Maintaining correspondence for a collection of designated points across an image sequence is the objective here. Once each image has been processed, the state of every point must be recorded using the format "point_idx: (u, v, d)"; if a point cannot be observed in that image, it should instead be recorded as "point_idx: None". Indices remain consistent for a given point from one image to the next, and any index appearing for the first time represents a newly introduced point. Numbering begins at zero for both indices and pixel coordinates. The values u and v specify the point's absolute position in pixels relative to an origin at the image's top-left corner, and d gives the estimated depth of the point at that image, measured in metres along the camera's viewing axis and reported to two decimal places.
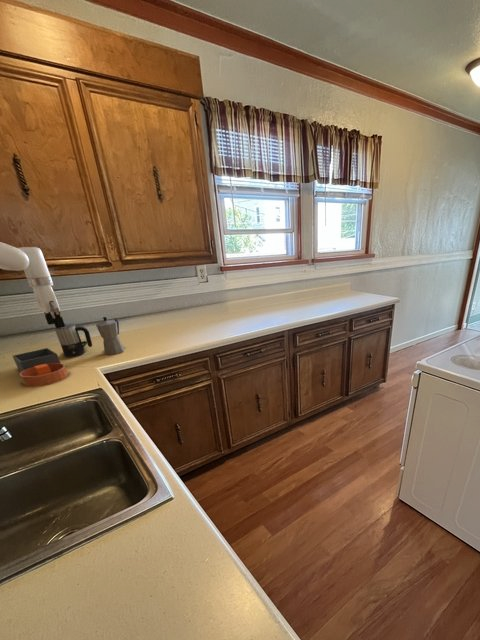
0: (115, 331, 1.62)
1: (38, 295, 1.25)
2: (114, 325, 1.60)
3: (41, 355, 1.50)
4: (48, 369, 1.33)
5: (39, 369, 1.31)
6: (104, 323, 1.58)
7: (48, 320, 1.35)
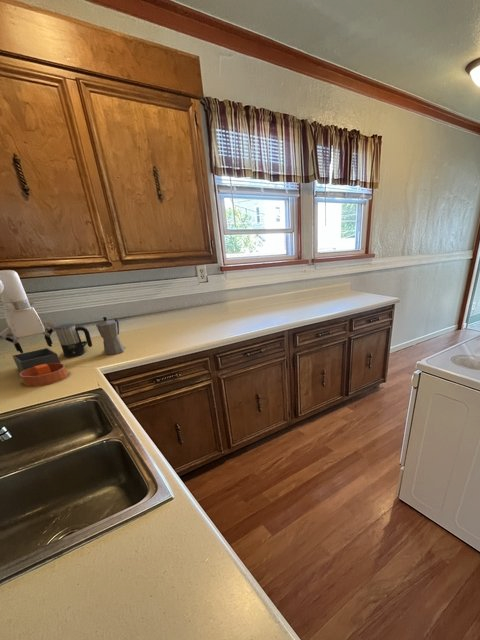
0: (115, 331, 1.62)
1: None
2: (114, 325, 1.60)
3: (41, 355, 1.50)
4: (48, 369, 1.33)
5: (39, 369, 1.31)
6: (104, 323, 1.58)
7: (46, 341, 1.33)
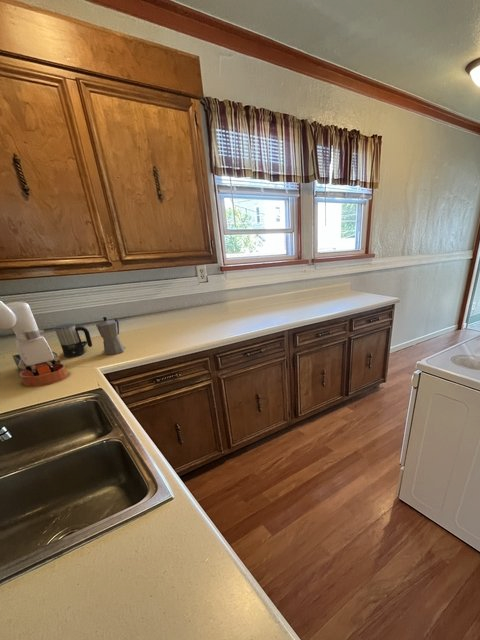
0: (115, 331, 1.62)
1: None
2: (114, 325, 1.60)
3: None
4: (48, 369, 1.33)
5: (39, 369, 1.31)
6: (104, 323, 1.58)
7: None
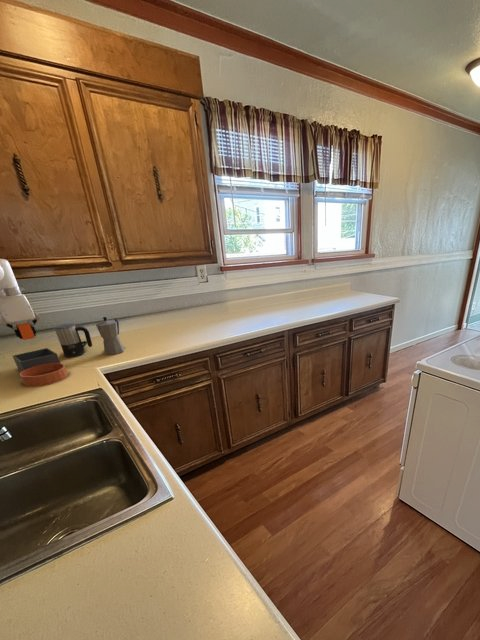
0: (115, 331, 1.62)
1: None
2: (114, 325, 1.60)
3: (41, 355, 1.50)
4: (29, 327, 1.37)
5: (20, 327, 1.34)
6: (104, 323, 1.58)
7: None
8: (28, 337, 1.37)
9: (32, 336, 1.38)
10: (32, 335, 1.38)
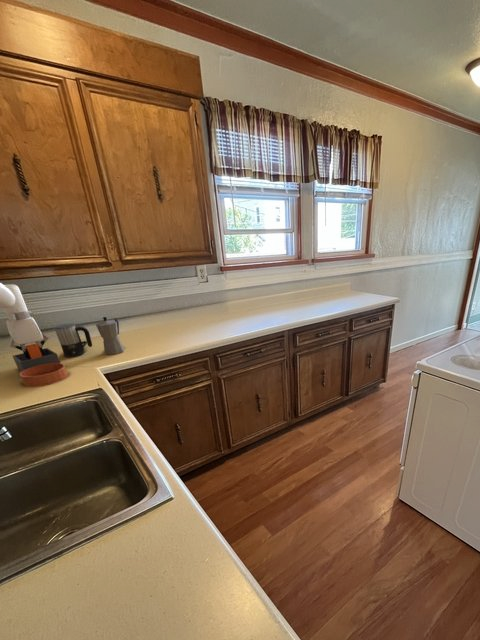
0: (115, 331, 1.62)
1: None
2: (114, 325, 1.60)
3: None
4: (37, 349, 1.42)
5: (29, 348, 1.39)
6: (104, 323, 1.58)
7: None
8: None
9: None
10: (40, 356, 1.43)
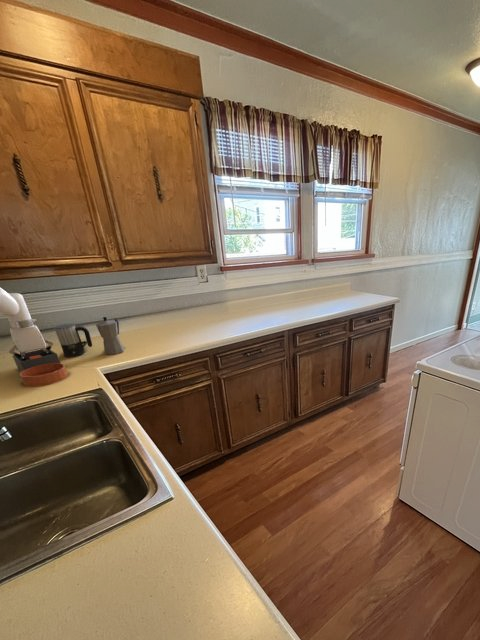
0: (115, 331, 1.62)
1: None
2: (114, 325, 1.60)
3: (41, 355, 1.50)
4: None
5: None
6: (104, 323, 1.58)
7: None
8: None
9: None
10: None
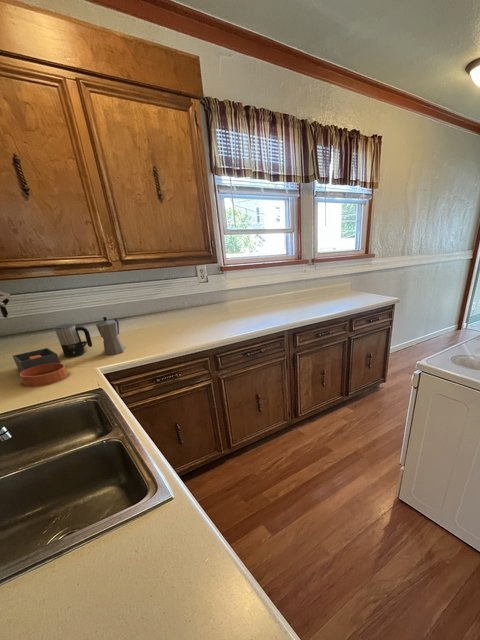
0: (115, 331, 1.62)
1: None
2: (114, 325, 1.60)
3: (41, 355, 1.50)
4: None
5: None
6: (104, 323, 1.58)
7: None
8: None
9: None
10: None
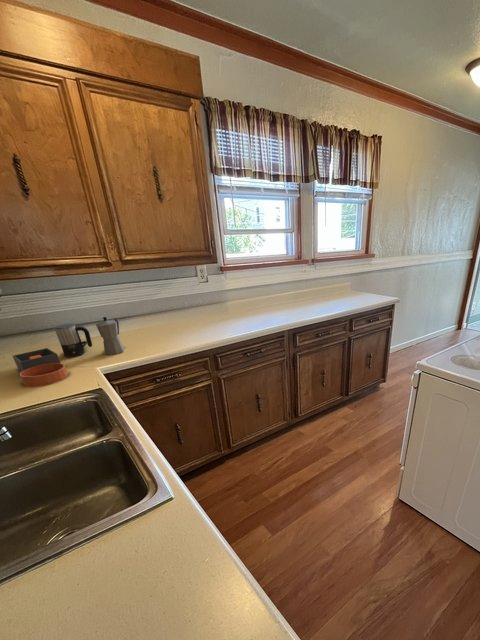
0: (115, 331, 1.62)
1: None
2: (114, 325, 1.60)
3: (41, 355, 1.50)
4: None
5: None
6: (104, 323, 1.58)
7: None
8: None
9: None
10: None
